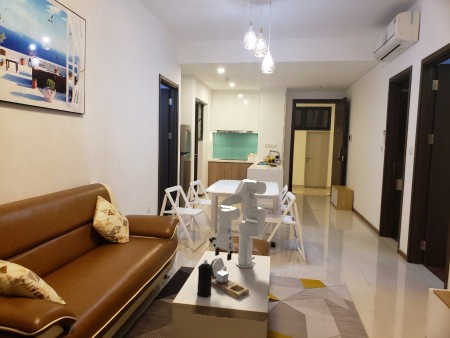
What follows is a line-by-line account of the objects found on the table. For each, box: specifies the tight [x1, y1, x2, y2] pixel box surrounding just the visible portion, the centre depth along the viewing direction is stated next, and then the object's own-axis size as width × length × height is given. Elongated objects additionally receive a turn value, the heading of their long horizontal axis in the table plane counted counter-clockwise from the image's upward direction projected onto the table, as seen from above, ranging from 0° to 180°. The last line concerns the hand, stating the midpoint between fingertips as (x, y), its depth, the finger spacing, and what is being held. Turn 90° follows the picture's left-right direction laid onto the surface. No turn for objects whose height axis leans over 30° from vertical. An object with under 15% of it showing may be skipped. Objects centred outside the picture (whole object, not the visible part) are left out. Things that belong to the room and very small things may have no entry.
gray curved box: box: [209, 257, 228, 278], centre depth 203 cm, size 17×5×10 cm, turn 160°
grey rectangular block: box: [215, 271, 229, 285], centre depth 186 cm, size 5×5×8 cm
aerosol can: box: [196, 259, 213, 298], centre depth 174 cm, size 8×8×20 cm
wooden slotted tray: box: [211, 278, 250, 300], centre depth 182 cm, size 9×22×3 cm, turn 48°
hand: (223, 257), depth 184 cm, fingers open, 9 cm apart
